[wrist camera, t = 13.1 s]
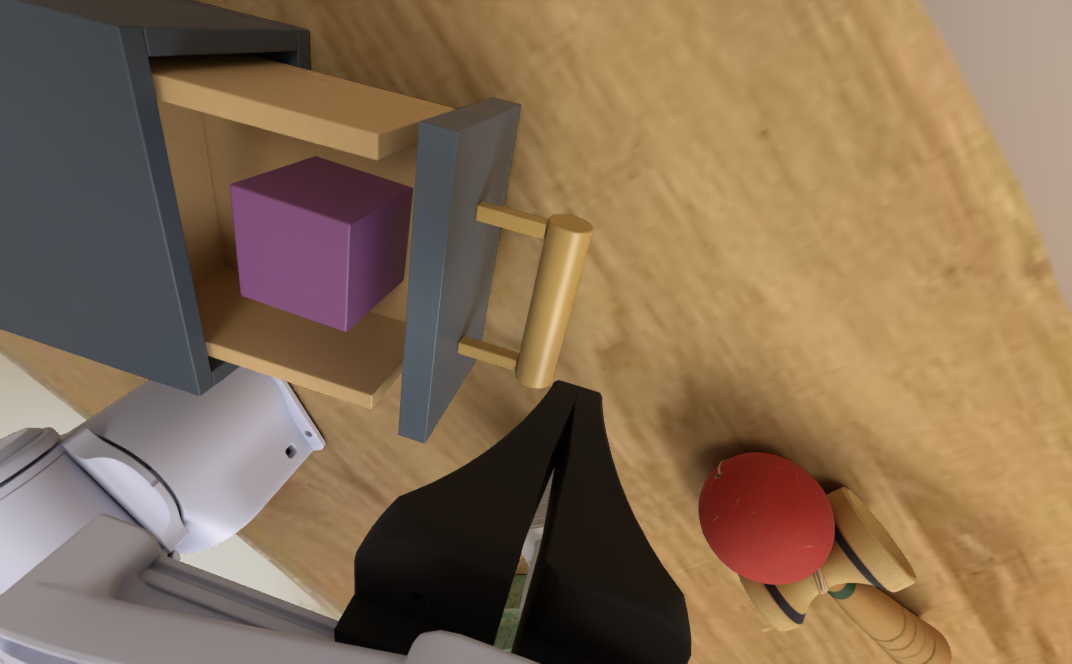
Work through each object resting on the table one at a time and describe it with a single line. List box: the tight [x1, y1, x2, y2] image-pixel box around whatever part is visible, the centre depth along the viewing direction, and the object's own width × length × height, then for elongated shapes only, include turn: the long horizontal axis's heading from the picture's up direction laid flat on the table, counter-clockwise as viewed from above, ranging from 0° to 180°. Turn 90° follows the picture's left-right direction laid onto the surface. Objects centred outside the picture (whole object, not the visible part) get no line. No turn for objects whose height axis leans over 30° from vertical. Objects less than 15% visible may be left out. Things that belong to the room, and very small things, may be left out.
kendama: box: [699, 452, 951, 664], centre depth 26 cm, size 8×6×18 cm
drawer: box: [148, 53, 593, 443], centre depth 21 cm, size 19×12×7 cm, turn 78°
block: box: [230, 156, 413, 332], centre depth 20 cm, size 5×5×5 cm
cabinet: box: [0, 0, 311, 396], centre depth 22 cm, size 16×14×9 cm
